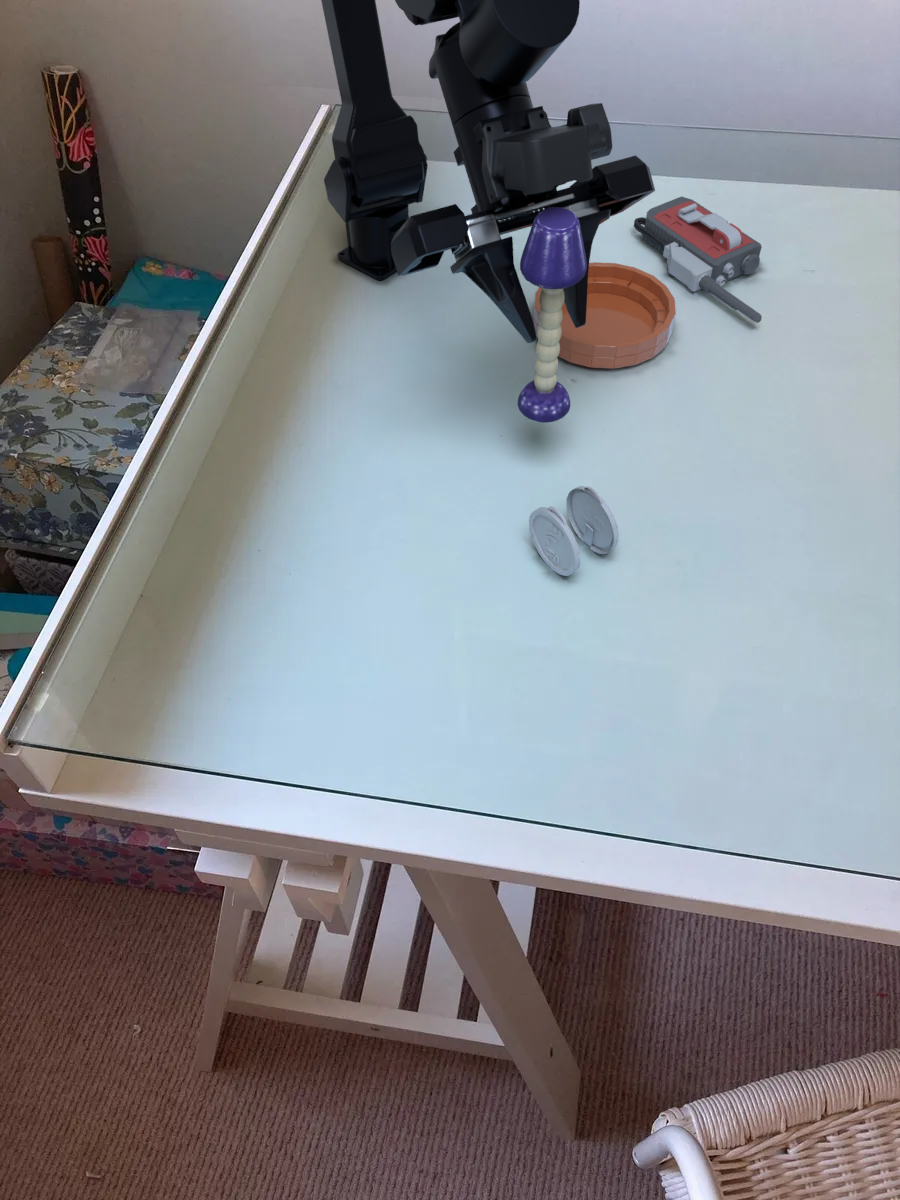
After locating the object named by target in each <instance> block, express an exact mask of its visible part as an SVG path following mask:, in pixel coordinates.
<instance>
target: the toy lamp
mask: <svg viewBox="0 0 900 1200" xmlns="http://www.w3.org/2000/svg"><path fill="white" fill-rule="evenodd" d="M519 270H520V273H521V275H522V276H523V278H524V280H526V281H527V282H529V283H530V284H531V285H533V286H535V287H538V288H539V287H542V291H541V293H540V305H541V308H540V310H539V323H540V325H539V327H538V331H537V335H536V336H538V337H537V340H538V341H537V343H536V346H535V353H536V356H537V357H536V359H535V363H534V368H535V373H534V377H533V379H532V380H531V381H529V382H528V383H527V384H526V385H524V386H523V387H522V389H521V391H520V392H519V395H518V398H517V408H518V410H519V412H520V413H521V414H522V415H523V416H524V417H525V418H526V419H528V420H531V421H533V422H537V423H543V424H544V423H554V422H557V421H559V420H562V419H563V418H564V417H565V416H566V415H567V414H568V413H569V412H570V409H571V397H570V394H569V392H568V390H567V389H566V387H565V386H564V385H563V384H562V383H560V382H559V381H558V375H557V371H558V369H559V359H558V357H559V356H558V355H559V352H560V344H559V340H560V338H561V333H562V329H561V325H560V324H561V322H562V319H563V310H562V308H561V307H562V306H563V303H564V299H565V296H564V291H563V289H564V288H567V287H571V286H573V285H575V284H576V283H578V282H579V281H580V280H581V279H582V278H583V277H584V275H585V273H586V270H587V261H586V254H585V249H584V243H583V238H582V232H581V227H580V223H579V220H578V217H577V216H576V215H575V214H574V213H573V212H572V211H570V210H568V209H566V208H560V207H552V208H548V209H545V210H543V211H541V212H540V213H539V214H538V215H537V216H536V217H535V219H534V221H533V224H532V226H531V227H530V230H529V233H528V235H527V238H526V241H525V245H524V248H523V251H522V253H521V257H520V261H519Z"/></svg>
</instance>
